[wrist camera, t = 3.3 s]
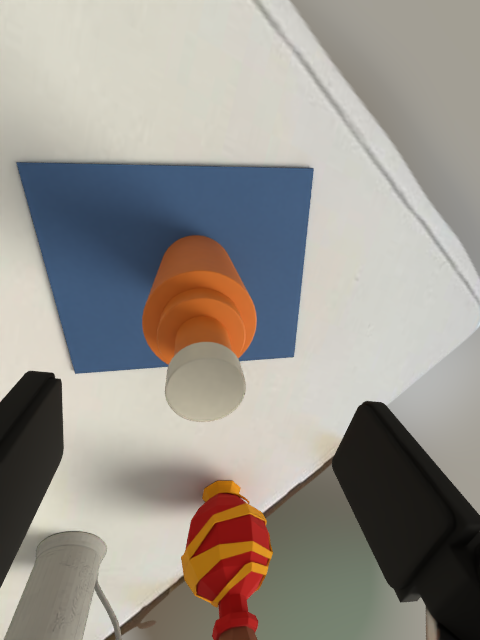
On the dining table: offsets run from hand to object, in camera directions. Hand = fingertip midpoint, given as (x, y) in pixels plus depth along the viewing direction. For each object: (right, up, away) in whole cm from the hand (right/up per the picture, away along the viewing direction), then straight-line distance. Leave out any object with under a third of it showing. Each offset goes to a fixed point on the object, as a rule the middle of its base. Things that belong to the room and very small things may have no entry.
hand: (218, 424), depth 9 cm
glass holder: (-20, -30, +32) cm, 48 cm away
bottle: (-3, +8, +16) cm, 18 cm away
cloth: (-4, +7, +17) cm, 19 cm away
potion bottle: (-2, -20, +30) cm, 36 cm away
